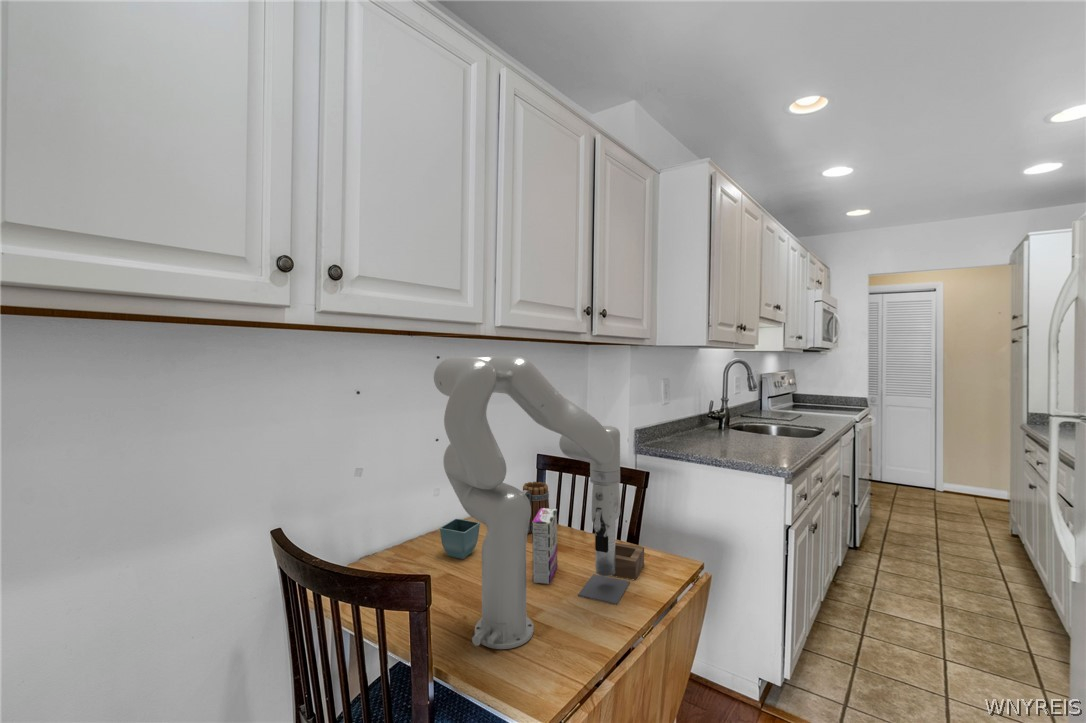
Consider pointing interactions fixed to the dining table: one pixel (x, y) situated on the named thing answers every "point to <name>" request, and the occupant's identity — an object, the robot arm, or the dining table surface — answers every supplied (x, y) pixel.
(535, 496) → the mug
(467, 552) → the flower pot
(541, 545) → the candy bar box
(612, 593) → the rubber mat
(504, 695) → the dining table surface
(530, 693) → the dining table surface
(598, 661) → the dining table surface
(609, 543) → the metal peg
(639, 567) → the eye block
